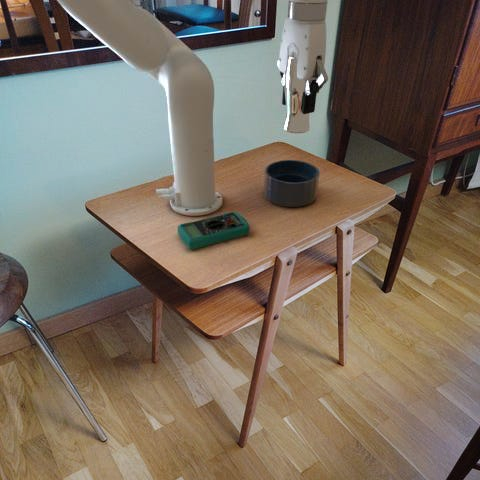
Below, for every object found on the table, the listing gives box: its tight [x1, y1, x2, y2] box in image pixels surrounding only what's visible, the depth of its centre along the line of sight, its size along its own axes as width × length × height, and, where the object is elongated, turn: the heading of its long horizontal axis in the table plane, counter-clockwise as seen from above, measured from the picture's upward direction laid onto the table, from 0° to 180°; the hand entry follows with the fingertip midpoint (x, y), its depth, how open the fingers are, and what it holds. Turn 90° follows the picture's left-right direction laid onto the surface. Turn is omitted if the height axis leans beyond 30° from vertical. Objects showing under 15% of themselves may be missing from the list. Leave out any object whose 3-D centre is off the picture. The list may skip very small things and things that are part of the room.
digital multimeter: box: [177, 211, 250, 250], centre depth 97 cm, size 7×15×3 cm, turn 117°
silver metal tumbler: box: [282, 55, 315, 134], centre depth 98 cm, size 7×7×15 cm
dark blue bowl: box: [263, 159, 320, 208], centre depth 110 cm, size 13×13×6 cm
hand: (298, 107), depth 100 cm, fingers closed on silver metal tumbler, 6 cm apart
